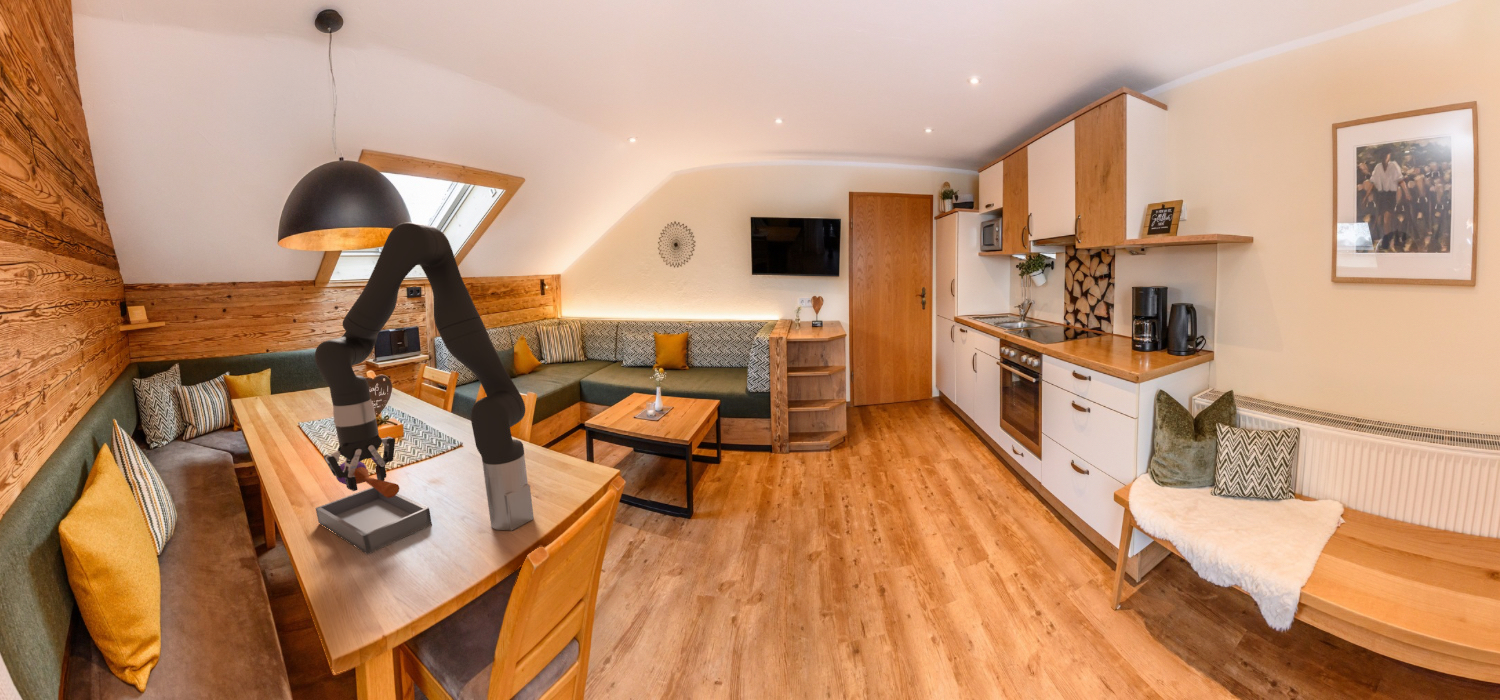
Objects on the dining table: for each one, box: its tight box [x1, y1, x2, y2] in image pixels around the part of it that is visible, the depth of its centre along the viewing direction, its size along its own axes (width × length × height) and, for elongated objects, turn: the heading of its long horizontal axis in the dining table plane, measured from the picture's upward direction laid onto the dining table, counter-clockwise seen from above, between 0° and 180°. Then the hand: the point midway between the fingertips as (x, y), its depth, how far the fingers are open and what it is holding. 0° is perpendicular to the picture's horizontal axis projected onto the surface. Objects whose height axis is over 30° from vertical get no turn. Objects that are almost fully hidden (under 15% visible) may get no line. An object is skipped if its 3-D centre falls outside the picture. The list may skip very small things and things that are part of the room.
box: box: [315, 486, 432, 555], centre depth 118 cm, size 26×14×4 cm, turn 61°
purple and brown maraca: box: [335, 461, 400, 498], centre depth 116 cm, size 6×6×20 cm
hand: (367, 484), depth 116 cm, fingers closed on purple and brown maraca, 5 cm apart
